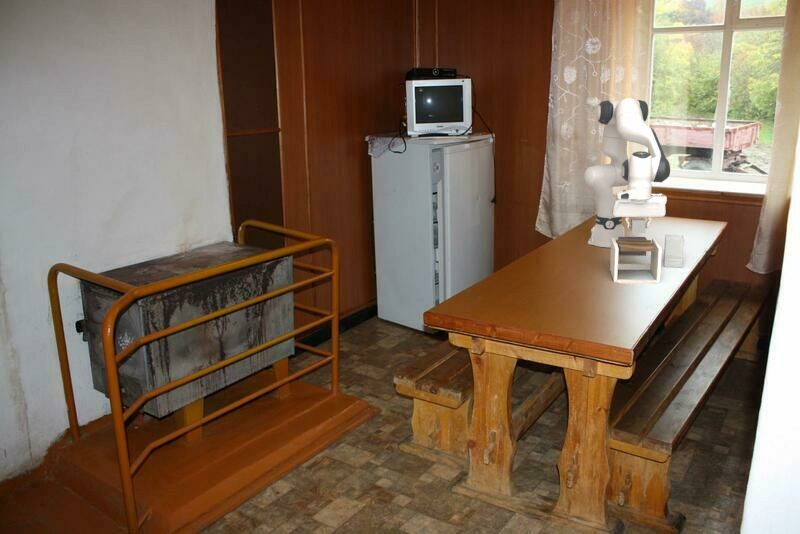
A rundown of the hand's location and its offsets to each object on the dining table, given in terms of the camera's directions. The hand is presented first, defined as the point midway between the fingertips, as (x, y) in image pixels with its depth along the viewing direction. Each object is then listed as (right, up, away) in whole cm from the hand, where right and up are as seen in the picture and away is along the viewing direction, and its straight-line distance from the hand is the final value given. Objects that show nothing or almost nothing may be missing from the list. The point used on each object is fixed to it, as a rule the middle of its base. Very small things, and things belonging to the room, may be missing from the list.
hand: (637, 227), depth 280 cm
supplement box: (+22, -15, +21) cm, 34 cm away
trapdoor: (+2, -12, +10) cm, 16 cm away
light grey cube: (0, -2, 0) cm, 2 cm away
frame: (+1, -20, +9) cm, 21 cm away
